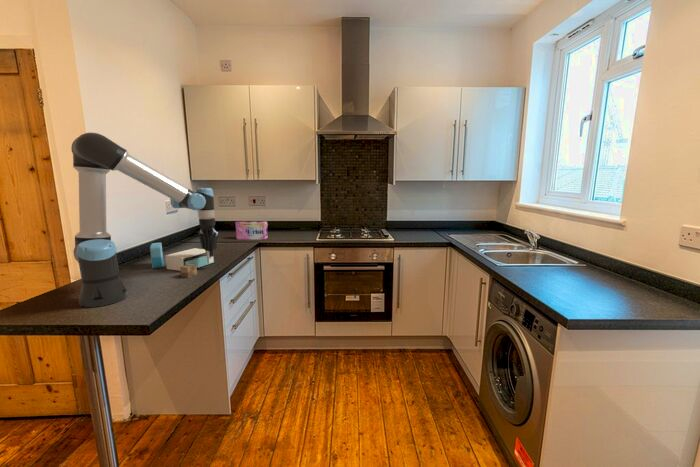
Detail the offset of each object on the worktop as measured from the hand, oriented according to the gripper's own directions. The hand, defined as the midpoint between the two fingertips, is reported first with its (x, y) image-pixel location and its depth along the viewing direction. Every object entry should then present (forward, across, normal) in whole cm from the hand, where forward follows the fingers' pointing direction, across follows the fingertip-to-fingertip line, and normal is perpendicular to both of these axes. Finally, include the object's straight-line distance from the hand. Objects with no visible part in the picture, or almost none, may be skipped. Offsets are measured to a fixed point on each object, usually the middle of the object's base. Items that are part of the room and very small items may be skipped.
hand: (210, 262), depth 164 cm
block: (+4, 0, +13) cm, 14 cm away
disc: (+2, +14, 0) cm, 14 cm away
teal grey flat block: (+3, +13, 0) cm, 13 cm away
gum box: (+3, +35, -74) cm, 81 cm away
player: (+3, +15, 0) cm, 16 cm away
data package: (-2, +26, +11) cm, 28 cm away
